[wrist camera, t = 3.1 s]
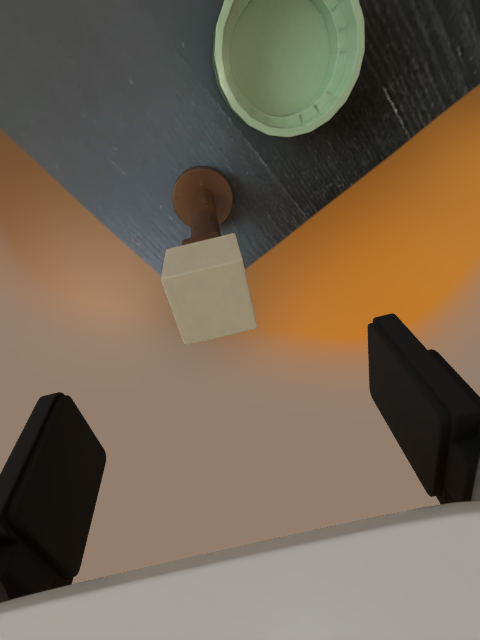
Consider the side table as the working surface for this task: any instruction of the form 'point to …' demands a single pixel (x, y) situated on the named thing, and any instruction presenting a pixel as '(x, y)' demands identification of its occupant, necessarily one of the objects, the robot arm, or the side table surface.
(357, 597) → the robot arm
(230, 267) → the block
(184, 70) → the side table surface
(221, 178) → the stand
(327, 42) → the green round bowl
